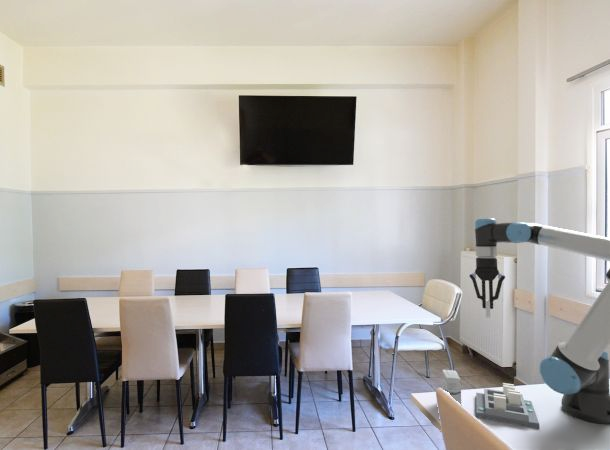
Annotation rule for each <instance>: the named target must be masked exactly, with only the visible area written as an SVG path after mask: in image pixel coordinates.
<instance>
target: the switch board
mask: <svg viewBox="0 0 610 450" xmlns="http://www.w3.org/2000/svg"><path fill="white" fill-rule="evenodd" d="M475 393H476V394H475V398H476V399H475V400H476V401H475V402H476V404H475V405H476V417H477V418H480V419H487V420H492V421H497V422H503V423H509V424H513V425H519V426H525V427H529V428H534V429H535V428H536V429H540V422H539V420H538V416H537V414H536V410H535V408H534V405H533V402H532V400H526V399H525V400H524V396H523V394H522V393H520V395H521V406H519V405H513V404H508V397H506V410H502V409H496V408H494V393H496V394H502V395H503V390H497V389H490V388H484V389H483V393H481V392H475Z"/></svg>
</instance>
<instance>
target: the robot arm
mask: <svg viewBox="0 0 610 450" xmlns="http://www.w3.org/2000/svg"><path fill="white" fill-rule="evenodd" d="M474 225H475V227H474V228H475V229H474V235H475V236H474V237H475V256H476V259H475V263H476V264H475V270H474V272H472V273H470V274H469V278H470V279H471V280H472V283H473V287H474V290H475V293H476V298H477V299H479V300H481V304H482V308H483V309H485V317H486V318H488V319H490V318H491V310H493V309H494V301H495V300H498V299H499V296H500V292H501V288H502V285H503V281H504V280H505V279H506V276H505V275H504V274H502V273H500V272H499V269H498V258H497V256H498V247H497V246H498V243H507V244H508V243H511V244H512V243H514V244H520V243H531V244H535V245H539V246H544V247H548V248H551V249H552V248H553V249H555V250H556V249H557V250H561V251H565V252H568V253H569V252H570V253H573V254H577V255H582V256H586V257H591V258H594V259H598V260H603V261H607V262H610V237H606V236H601V235H596V234H590V233H585V232H581V231H580V232H579V231H575V230H570V229H565V228H564V229H563V228H558V227H554V226H549V225H543V224H541V223H538V222H537V223H536V222H520V221H518V222H517V221H513V222H497V220H496V218H477V219H475V224H474ZM604 276H605V278H606V281H607V283H606V285H605V286H604V288H603V289H602V290H601V292H600V293H599V295H598V297H597V298H596V299H595V301H594V302H593V304H592V305H591V306H590V308H589V310H588V311H587V313H586V314H585V315H584V317H583V318H582V320H581V321H580V323H579V324H578V326H577V327H576V328H575V330H574V331H573V333H572V335H570V338H569V339H568V340H567V341H561V342H559V343H558V345H557V346H556V347H555V348H554V350H553V352H552V353H551V354H550V356H549V355H548V356H546V357H544V358H543V359H542V360H541V361H540V363H539V367H538V369H539V373H540V376H541V379H542V380H543V382H544V383H545V385H546V386H548V387H549V388H550V389H551V390H552V391H554V392H556V393H559V394H561V395H562V397H561V409H562V410H563V411H564V412H565V413H567V414H568V415H570V416H572V417H574V418H576V419H579V420H583V421H585V422H590V423H594V424H595V423H596V424H603V425H605V424H606V425H607V424H608V425H609V424H610V369H609V368H610V367H609V362H610V359H609V354H608V353H609V352H608V351H607V350H606V349H607V348H608V347H609V345H610V268H609V269H608V270H607V272H606V274H605V275H604ZM477 277H478V278H479V279H480V280H481V293H480V290H479V286H478V283H477V279H476V278H477ZM496 278H497V279H498V281H497V285H496V289H495V293H494V290H493V289H494V287H493V283H494V282H493V281H494V280H495V279H496ZM486 281H488V297H489V299H486V298H487V296H486Z"/></svg>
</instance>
